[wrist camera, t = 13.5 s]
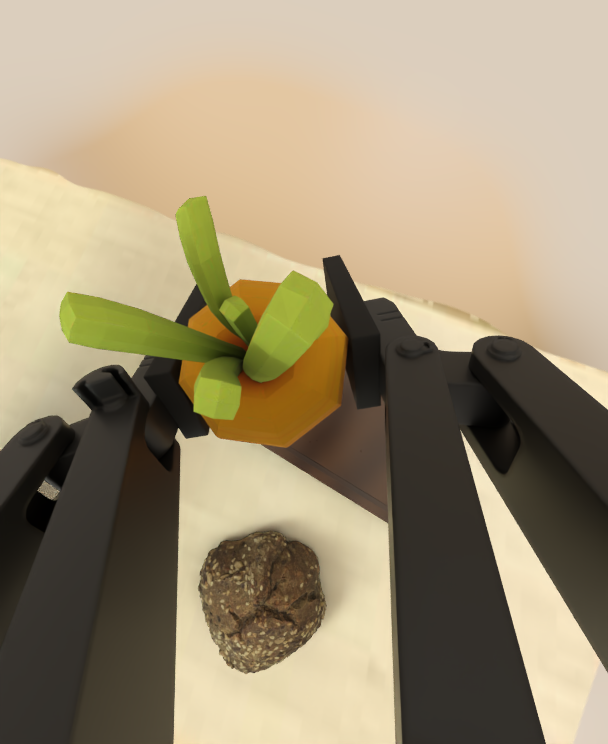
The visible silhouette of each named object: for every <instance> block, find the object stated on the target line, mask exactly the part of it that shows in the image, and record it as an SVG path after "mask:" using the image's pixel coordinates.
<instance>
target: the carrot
mask: <svg viewBox="0 0 608 744" xmlns="http://www.w3.org/2000/svg"><path fill="white" fill-rule="evenodd" d="M176 220H177V225H178V230H179V236H180V239H181V243H182V246H183V249H184V253H185V256H186V259H187V263H188V265H189V267H190V270H191V272H192V274H193V276H194V279H195V281H196V283H197V285H198V288H199V290H200V292H201V294H202V296H203V298H204V300H205V302H206V303H207V306H205V307H204V308H203V309H201V310H200V311H199V312H198V313H196V314H195V315H194V316H193V317H191V318H190V319H189V323H188V327H186V326H184V325H181V324H178V323H176V322H173V321H170V320H167V319H165V318H162V317H159V316H157V315H154V314H151V313H149V312H146V311H143V310H141V309H138V308H134V307H131V306H127V305H124V304H120V303H117V302H113V301H110V300H106V299H103V298H99V297H94V296H89V295H83V294H77V293H71V292H67V293H66V295H65V297H64V298H63V300H62V302H61V306H60V314H59V317H60V322H61V327H62V331H63V333H64V335H65V336H66V338H67V340H68V342H69V343H73V344H78V345H82V346H87V347H92V348H96V349H104V350H112V351H119V352H127V353H135V354H142V355H149V356H157V357H164V358H172V359H179V360H182V366H181V372H180V378H179V384H180V386H181V387H182V389H183V390H184V391H185V393H186V394H187V396H188V397H189V398H190V400H191V401H192V403H193V404H194V412H196V413H199V414H201V415H202V417H203V418H204V420H205V421H206V422H207V424H208V425H209V427H210V428H211V429H212V431H213V432H214V434H215V435H216V436H217V437H218V438H221V439H228V440H235V441H242V442H249V443H256V444H263V445H270V446H277V447H284V448H287V447H289V446H290V445H291V444H293V443H294V442H295V441H297V440H298V439H299V438H300V437H302V436H303V435H304V434H306V433H307V432H308V431H309V430H311V429H312V428H313V427H314V426H316V425H317V424H318V423H320V422H321V421H322V420H323V419H325V418H326V417H327V416H329V415H330V414H331V413H332V412H334V411H335V410H336V409H338V408H339V407H340V406H341V402H342V393H343V384H344V376H345V367H346V358H347V349H348V337H347V336H346V334H345V333H344V332H343V331H342V330H341V328H340V327H339V326H338V325H337V323H336V322H335V321H334V320H333V319H332V317H331V316H330V313H331V310H332V307H333V305H334V304H333V303H332V301H331V300H330V299H329V297H328V296H327V295H326V293H325V292H324V291H323V290H322V288H321V287H320V286H319V284H318V283H317V282H315V281H313V280H311V279H309V278H307V277H305V276H303V275H301V274H299V273H297V272H295V271H292V272H291V273H290V274H289V275H288V276H287V278H286V279H285V280H284V281H283V282H282V283H273V282H262V281H251V280H241V279H240V280H239V281H237V282H236V283H235V284H233V285H232V286H231V287H229V284H228V280H227V277H226V273H225V269H224V266H223V262H222V258H221V254H220V251H219V246H218V242H217V237H216V232H215V228H214V223H213V219H212V215H211V212H210V208H209V205H208V201H207V198H206V196H202V197H196V198H189V199H188V200H187V201H186V202H185V203H184V204H183V205H182V206H181V207H180V208H179V209H178V211H177V213H176Z"/></svg>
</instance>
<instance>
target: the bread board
mask: <svg viewBox="0 0 608 744" xmlns="http://www.w3.org/2000/svg"><path fill="white" fill-rule="evenodd" d="M261 445H263V444H261ZM263 446H264V447H266V448H267V449H269V450H271V451H272V452H274V453H276V454H277V455H279V456H280V457H282V458H284V459H285V460H287V461H288V462H290V463H292V464H293V465H295V466H297V467H298V468H300V469H301V470H303V471H305V472H306V473H308V474H309V475H311V476H313V477H314V478H316V479H318V480H319V481H321V482H322V483H324V484H326V485H327V486H329V487H330V488H332V489H334V490H335V491H337V492H339V493H340V494H342V495H343V496H345V497H347V498H348V499H350V500H351V501H353V502H355V503H356V504H358V505H360V506H361V507H363V508H364V509H366V510H368V511H369V512H371V513H372V514H374V515H376V516H377V517H379V518H381V519H382V520H384V521H385V522H387V523H388V498H387V468H386V438H385V404H384V401H383V399H382V396H381V406H377V407H371V408H365V409H359V410H357V407H356V403H355V400H354V396H353V393H352V389H351V386H350V382H349V379H348V375H347V372H346V368H345V376H344V384H343V393H342V402H341V406H340V407H339V408H338V409H336V410H335V411H334V412H332V413H331V414H330V415H329V416H327V417H326V418H325V419H323V420H322V421H321V422H320V423H318V424H317V425H316V426H314V427H313V428H312V429H311V430H309V431H308V432H307V433H306V434H304V435H303V436H302V437H300V438H299V439H298V440H297V441H295V442H294V443H293V444H291V445H290V446H289V447H287V448H284V447H277V446H270V445H263Z"/></svg>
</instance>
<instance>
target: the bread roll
mask: <svg viewBox="0 0 608 744" xmlns="http://www.w3.org/2000/svg"><path fill="white" fill-rule="evenodd" d="M319 571H320V568H319V563H318V559H317V556H316V555H315V553H314V552H313V551H312V550H311V549H310V548H308V547H307V546H305V545H303V544H302V543H300V542H298V541H292V542H287V541H286V538H285V537H284V536H283V535H282V534H281V533H278V532H272V531H268V532H264V533H261V532H256V533H254V534H249V536H248V537H246V538H244V539H242V540H237V541H227V540H226V541H223V542H220V545H219V546H218V548H215V549H212V550H211V551H210V552H209V553H208V557H207V558H206V559H205V560H204V564H203V568H202V569H201V571H200V575H201V580H200V584H199V587H198V590H199V591H200V598H202V606H203V612H204V613H205V621H206V622H207V626H208V627H209V628H210V629H209V631H210V634H211V637H212V639H213V640H214V642H215V644H216V645H218V646H219V648H220V650H219V655H222V656H223V659H224V660H225V661H226V663H227V665H228V666H231V668H232V669H233V668H235V669H237V670H239V671H241V672H244V673H245V674H247V673H249V672H252V673H255V672H259V671H260V670H265V669H267V668H269V667H271V666H272V665H274V664H275V663H276V664H277V663H280V662H281V661H282V660H284V659H285V658H286V657H288V656H290V655H291V654H292V653H293V652H296V650H297V649H298V648H299V647H302V646H303V645H304V644H306V642H307V641H308V640H309V639H310V638H311V637H312V635H313V634H314V633H315V632H316V631H317V629H318V628H319V627H320V626H321V619H323V618H324V614H325V610H326V606H327V605H326V603H325V599H324V594H323V592H322V589H321V584H320V580H319Z"/></svg>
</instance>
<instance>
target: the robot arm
mask: <svg viewBox="0 0 608 744" xmlns="http://www.w3.org/2000/svg"><path fill="white" fill-rule="evenodd" d="M323 266H324V273H325V281H326V289H327V296H328V297H329V299H330V300H331V301H332V303H333V304H334V305H333V307H332V310H331V313H330V316H331V317H332V319H333V320H334V321H335V322H336V323H337V325H338V326H339V327H340V328H341V330H342V331H343V332H344V333H345V334H346V336H347V337H348V349H347V358H346V367H345V368H346V372H347V375H348V379H349V382H350V386H351V389H352V393H353V396H354V400H355V403H356V407H357V410H359V409H365V408H371V407H377V406H381V396H382V399H383V401H384V404H385V438H386V468H387V498H388V528H389V558H390V588H391V618H392V648H393V678H394V708H395V739H396V744H546V743H545V739H544V735H543V732H542V728H541V724H540V721H539V717H538V713H537V710H536V706H535V702H534V699H533V695H532V691H531V688H530V684H529V680H528V677H527V673H526V669H525V666H524V662H523V658H522V655H521V651H520V647H519V644H518V640H517V636H516V633H515V629H514V625H513V622H512V618H511V614H510V611H509V607H508V603H507V600H506V596H505V592H504V589H503V585H502V582H501V578H500V574H499V571H498V567H497V563H496V560H495V556H494V552H493V549H492V545H491V541H490V538H489V534H488V530H487V527H486V523H485V519H484V516H483V512H482V508H481V505H480V501H479V497H478V494H477V490H476V486H475V483H474V479H473V475H472V472H471V468H470V464H469V461H468V457H467V453H466V450H465V446H464V442H463V439H462V435H461V431H462V433H463V435H464V436H465V438H466V440H467V441H468V443H469V445H470V446H471V448H472V449H473V451H474V453H475V454H476V456H477V458H478V459H479V461H480V463H481V464H482V466H483V468H484V469H485V471H486V473H487V474H488V476H489V478H490V479H491V481H492V482H493V484H494V486H495V487H496V489H497V491H498V492H499V494H500V496H501V497H502V499H503V501H504V502H505V504H506V506H507V507H508V509H509V511H510V512H511V514H512V515H513V517H514V519H515V520H516V522H517V524H518V525H519V527H520V529H521V530H522V532H523V534H524V535H525V537H526V539H527V540H528V542H529V544H530V545H531V547H532V548H533V550H534V552H535V553H536V555H537V557H538V558H539V560H540V562H541V563H542V565H543V567H544V568H545V570H546V572H547V573H548V575H549V577H550V578H551V580H552V581H553V583H554V585H555V586H556V588H557V590H558V591H559V593H560V595H561V596H562V598H563V600H564V601H565V603H566V605H567V606H568V608H569V610H570V611H571V613H572V614H573V616H574V618H575V619H576V621H577V623H578V624H579V626H580V628H581V629H582V631H583V633H584V634H585V636H586V638H587V639H588V641H589V643H590V644H591V646H592V647H593V649H594V651H595V652H596V654H597V656H598V657H599V659H600V661H601V662H602V664H603V666H604V667H605V669H606V671H607V672H608V410H607V409H606V408H605V407H604V406H603V405H601V404H600V403H599V402H598V401H597V400H595V399H594V398H593V397H592V396H591V395H589V394H588V393H587V392H586V391H585V390H583V389H582V388H581V387H580V386H579V385H577V384H576V383H575V382H574V381H573V380H572V379H570V378H569V377H568V376H567V375H566V374H564V373H563V372H562V371H561V370H560V369H558V368H557V367H556V366H555V365H554V364H552V363H551V362H550V361H549V360H548V359H546V358H545V357H544V356H543V355H542V354H541V353H539V352H538V351H537V350H536V349H535V348H533V347H532V346H531V345H529V344H527V343H526V342H524V341H522V340H519V339H516V338H513V337H508V336H488V337H484V338H481V339H479V340H478V341H476V342H475V343H474V345H473V349H472V352H450V351H441V350H438V348H437V346H436V345H435V343H434V342H432V341H430V340H429V339H427V338H424V337H420V336H416V334H415V333H414V331H413V330H412V328H411V327H410V325H409V324H408V323H407V321H406V320H405V318H404V317H403V315H402V314H401V313H400V311H399V310H398V308H397V307H396V305H395V304H394V303H393V302H391V301H389V300H387V299H385V298H379V299H373V300H368V301H363V299H362V297H361V295H360V293H359V291H358V289H357V288H356V286H355V284H354V282H353V280H352V278H351V276H350V274H349V272H348V270H347V268H346V266H345V264H344V262H343V261H342V259H341V257H340V255H338V256H333V257H328V258H323ZM205 306H207V303H206V302H205V300H204V298H203V296H202V294H201V292H200V290H199V288H198V285H197V284H196V286H195V288H194V289H193V291H192V293H191V295H190V296H189V298H188V300H187V302H186V303H185V305H184V307H183V309H182V310H181V312H180V314H179V316H178V317H177V319H176V321H175V322H176V323H178V324H181V325H184V326H186V327H188V323H189V319H190V318H191V317H193V316H194V315H195V314H196V313H198V312H199V311H200V310H201V309H203V308H204V307H205ZM139 366H140V367H139V368H138V369H137V370H136V372H135V373H134V375H133V377H132V378H130V376H129V375H128V374H127V372H126V371H125V369H124V368H123V367H121V366H120V365H110V366H105V367H102V368H99V369H97V370H94V371H92V372H91V373H89V374H87V375H86V376H84V377H83V378H82V379H80V380H79V381H78V382H77V383H76V384H75V385H74V387H73V388H72V390H73V391H74V392H75V393H76V394H77V395H78V396H79V397H80V398H81V399H82V400H83V401H84V402H85V403H86V405H87V406H88V407H89V408H90V409H91V410H92V411H91V414H90V416H89V418H86V419H83V420H81V421H78V422H76V423H73V424H71V425H68V424H67V423H66V422H65V421H64V420H63V419H62V418H61V417H59V416H47V417H44V418H41V419H38V420H35V421H34V422H31V423H29V424H28V425H27V426H26V427H25V428H23V429H22V430H20V431H19V432H18V433H17V434H16V435H15V436H14V437H13V438H12V439H11V440H10V441H9V442H8V443H7V444H6V445H5V447H4V448H3V449H2V450H1V451H0V744H173V739H174V697H175V656H176V615H177V573H178V532H179V491H180V445H179V443H178V442H177V441H176V439H175V435H176V433H177V430H178V428H179V429H180V431H181V432H182V434H183V435H184V437H185V438H186V439H187V438H193V437H199V436H205V435H208V433H209V429H210V427H209V425H208V424H207V422H206V421H205V420H204V418H203V417H202V415H201V414H199V413H196V412H194V404H193V403H192V401H191V400H190V398H189V397H188V396H187V394H186V393H185V391H184V390H183V389H182V387H181V386H180V384H179V378H180V372H181V366H182V360H179V359H172V358H164V357H157V356H149V355H146V356H145V357H144V360H142V362H141V364H140V365H139ZM460 430H461V431H460ZM44 480H45V481H46V482H47V483H49V484H50V485H52V486H53V487H54V488H56V489H57V490H59V491H60V492H59V494H58V495H57V496H56V497H55V498H54V499H53V500H51V499H48V498H47V497H45V496H44V495H42V494H41V493H39V492H38V491H37V490H38V489H39V487H40V486H41V484H42V483H43V481H44Z"/></svg>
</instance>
